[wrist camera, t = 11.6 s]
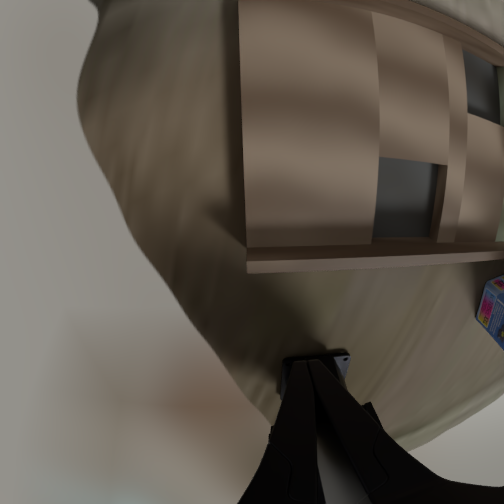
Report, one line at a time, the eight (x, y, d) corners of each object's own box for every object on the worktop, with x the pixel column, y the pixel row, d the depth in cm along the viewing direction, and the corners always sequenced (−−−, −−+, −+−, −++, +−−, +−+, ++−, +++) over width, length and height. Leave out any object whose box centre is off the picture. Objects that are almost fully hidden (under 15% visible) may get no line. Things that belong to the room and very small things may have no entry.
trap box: (515, 242, 20) (535, 256, 16) (247, 249, 20) (247, 273, 17) (526, 81, 12) (549, 83, 9) (238, -1, 12) (236, -25, 9)
